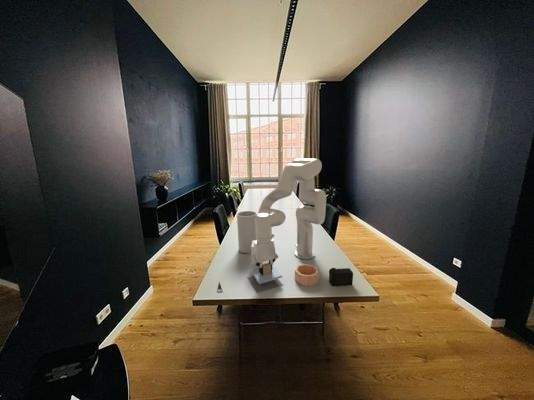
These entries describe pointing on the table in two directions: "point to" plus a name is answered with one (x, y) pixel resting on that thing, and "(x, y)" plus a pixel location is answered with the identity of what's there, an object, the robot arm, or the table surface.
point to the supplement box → (253, 254)
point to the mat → (264, 284)
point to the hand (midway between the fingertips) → (265, 272)
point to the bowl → (306, 274)
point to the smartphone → (219, 288)
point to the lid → (266, 273)
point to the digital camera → (340, 277)
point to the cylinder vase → (246, 230)
